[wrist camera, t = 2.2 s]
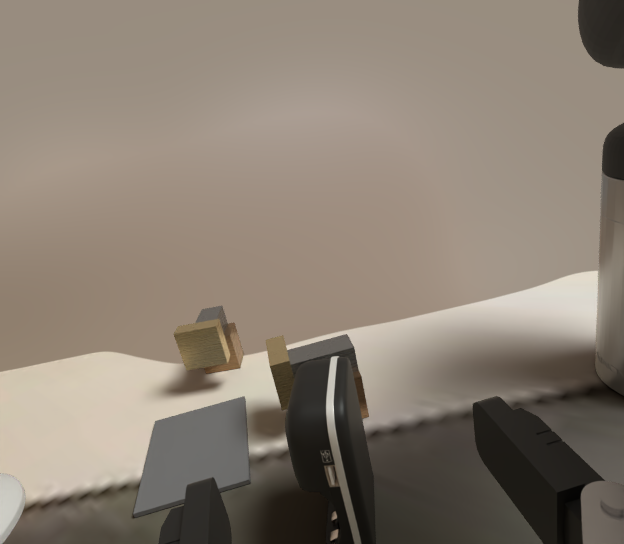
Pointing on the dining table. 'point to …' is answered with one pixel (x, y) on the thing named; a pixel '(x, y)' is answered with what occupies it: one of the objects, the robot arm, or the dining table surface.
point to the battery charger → (332, 447)
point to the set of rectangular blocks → (284, 363)
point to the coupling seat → (195, 454)
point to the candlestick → (10, 504)
